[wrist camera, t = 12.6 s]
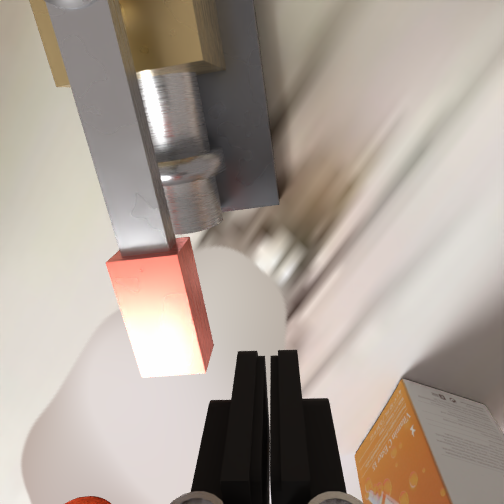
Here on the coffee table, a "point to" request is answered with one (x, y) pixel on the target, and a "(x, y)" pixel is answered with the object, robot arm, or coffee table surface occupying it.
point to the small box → (432, 451)
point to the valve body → (197, 103)
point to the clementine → (88, 500)
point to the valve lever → (133, 193)
